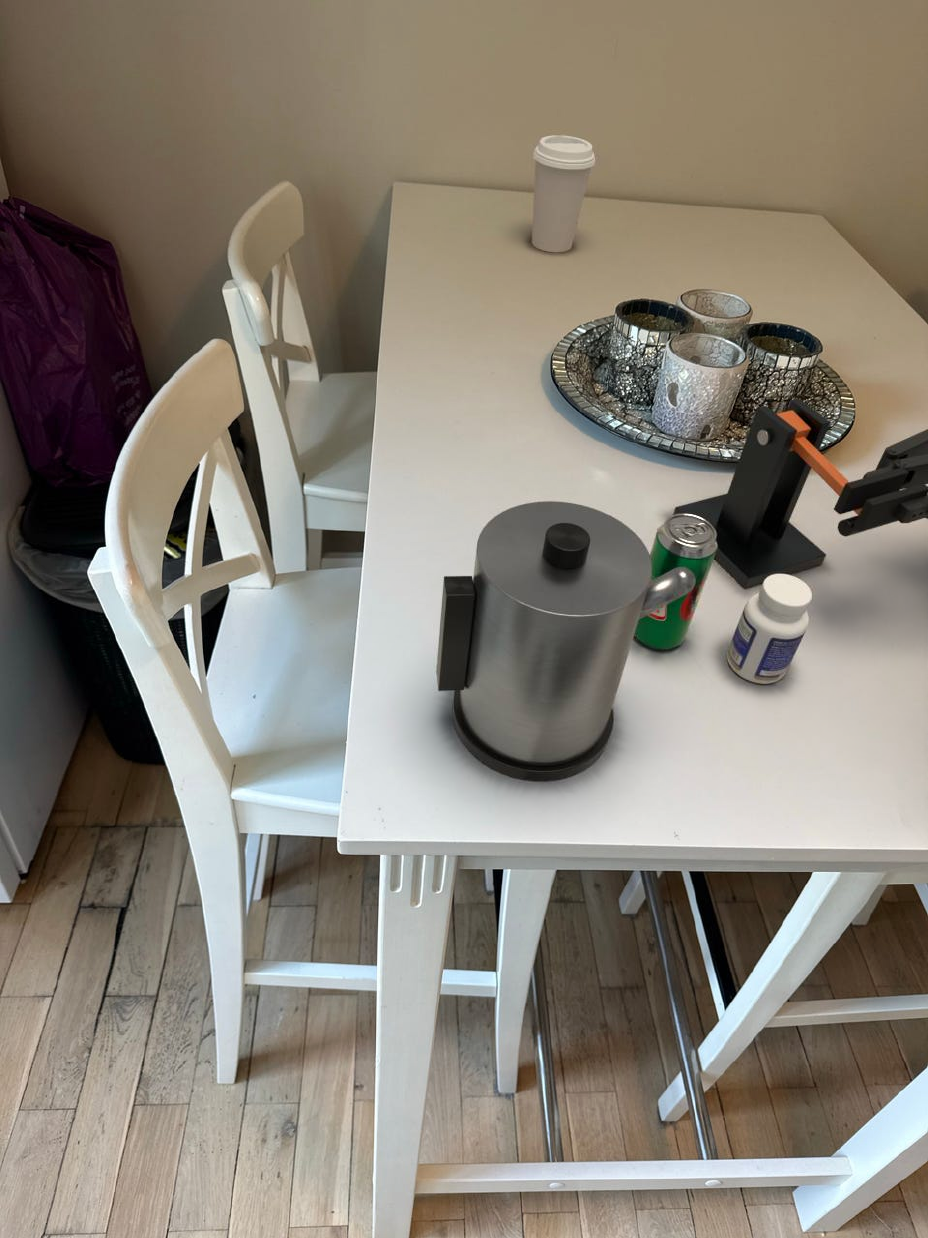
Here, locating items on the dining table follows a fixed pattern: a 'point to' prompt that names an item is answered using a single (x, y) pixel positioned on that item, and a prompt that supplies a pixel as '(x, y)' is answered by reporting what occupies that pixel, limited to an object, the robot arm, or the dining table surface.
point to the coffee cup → (559, 190)
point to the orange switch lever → (820, 467)
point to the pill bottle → (770, 629)
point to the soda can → (673, 547)
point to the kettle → (545, 635)
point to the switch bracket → (764, 501)
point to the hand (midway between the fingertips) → (853, 507)
